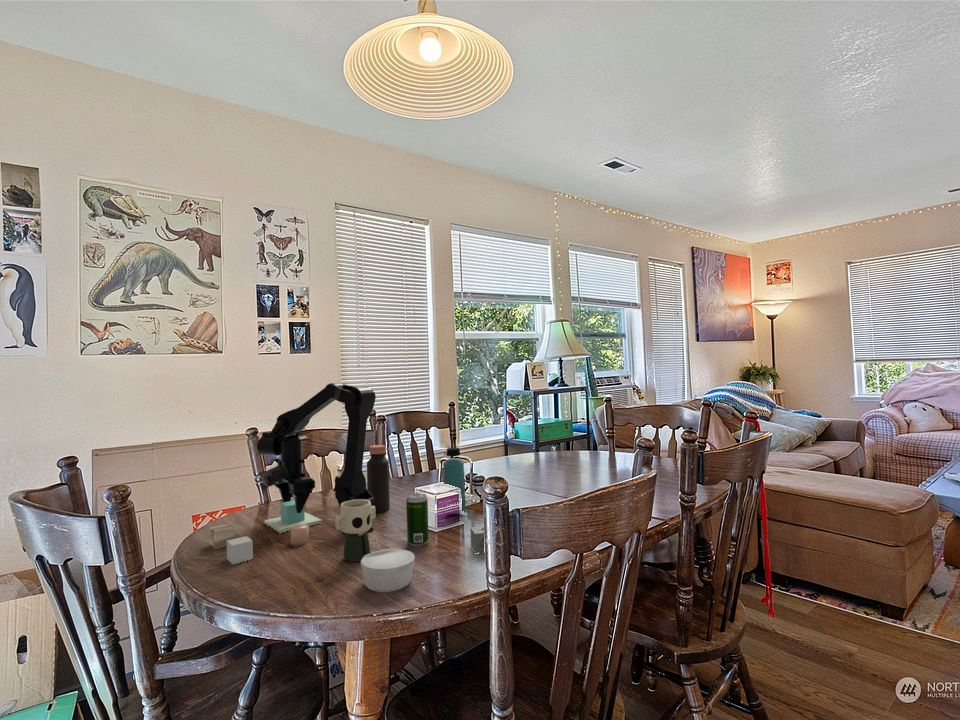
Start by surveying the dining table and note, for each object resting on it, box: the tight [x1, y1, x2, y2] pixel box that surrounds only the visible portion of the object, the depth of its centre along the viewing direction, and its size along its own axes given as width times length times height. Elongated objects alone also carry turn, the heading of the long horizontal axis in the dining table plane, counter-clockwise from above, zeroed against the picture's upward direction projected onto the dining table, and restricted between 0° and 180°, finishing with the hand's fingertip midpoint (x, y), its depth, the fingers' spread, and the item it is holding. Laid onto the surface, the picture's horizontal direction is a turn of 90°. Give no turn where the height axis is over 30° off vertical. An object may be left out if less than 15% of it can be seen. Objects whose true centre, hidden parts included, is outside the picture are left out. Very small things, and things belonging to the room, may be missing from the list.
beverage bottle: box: [442, 447, 467, 512], centre depth 152 cm, size 6×7×20 cm
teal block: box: [280, 499, 305, 524], centre depth 147 cm, size 5×5×5 cm
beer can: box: [405, 492, 429, 547], centre depth 128 cm, size 5×5×12 cm
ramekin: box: [360, 548, 416, 593], centre depth 105 cm, size 11×11×5 cm
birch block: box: [210, 523, 235, 550], centre depth 131 cm, size 4×4×4 cm
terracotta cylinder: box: [290, 524, 310, 546], centre depth 131 cm, size 4×4×4 cm
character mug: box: [334, 499, 377, 562], centre depth 119 cm, size 11×7×13 cm, turn 138°
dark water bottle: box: [366, 444, 391, 513], centre depth 160 cm, size 7×7×20 cm
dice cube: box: [470, 525, 485, 555], centre depth 123 cm, size 5×5×5 cm
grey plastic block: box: [226, 535, 254, 565], centre depth 121 cm, size 4×4×4 cm
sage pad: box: [263, 511, 323, 534], centre depth 147 cm, size 12×12×1 cm
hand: (292, 509), depth 147 cm, fingers open, 9 cm apart
